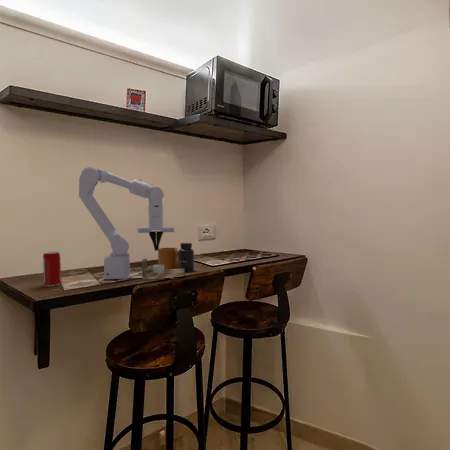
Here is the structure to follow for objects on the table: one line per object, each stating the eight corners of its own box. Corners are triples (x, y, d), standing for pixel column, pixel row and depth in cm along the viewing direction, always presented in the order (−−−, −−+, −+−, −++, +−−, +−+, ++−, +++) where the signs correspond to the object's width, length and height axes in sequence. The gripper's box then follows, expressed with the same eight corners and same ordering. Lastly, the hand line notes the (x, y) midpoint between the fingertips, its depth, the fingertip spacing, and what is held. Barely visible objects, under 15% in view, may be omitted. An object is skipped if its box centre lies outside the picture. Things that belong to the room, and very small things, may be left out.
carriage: (153, 275, 136) (153, 266, 136) (154, 273, 141) (153, 264, 140) (164, 275, 137) (163, 266, 137) (164, 273, 141) (164, 264, 141)
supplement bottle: (179, 272, 149) (178, 244, 148) (177, 270, 155) (176, 242, 155) (195, 271, 151) (195, 243, 150) (192, 269, 157) (192, 242, 157)
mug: (171, 271, 154) (170, 250, 153) (154, 268, 162) (153, 248, 161) (186, 268, 160) (186, 248, 160) (170, 265, 168) (169, 246, 168)
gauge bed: (142, 279, 134) (141, 261, 134) (143, 276, 141) (143, 258, 141) (184, 277, 136) (184, 259, 136) (184, 274, 143) (184, 257, 143)
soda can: (63, 284, 127) (62, 251, 127) (47, 287, 123) (46, 252, 123) (57, 282, 131) (56, 250, 130) (41, 285, 127) (40, 251, 126)
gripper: (136, 217, 139) (137, 252, 139) (173, 216, 141) (174, 250, 141) (138, 217, 146) (139, 250, 146) (174, 216, 148) (174, 249, 148)
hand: (156, 250), depth 144 cm, fingers closed
